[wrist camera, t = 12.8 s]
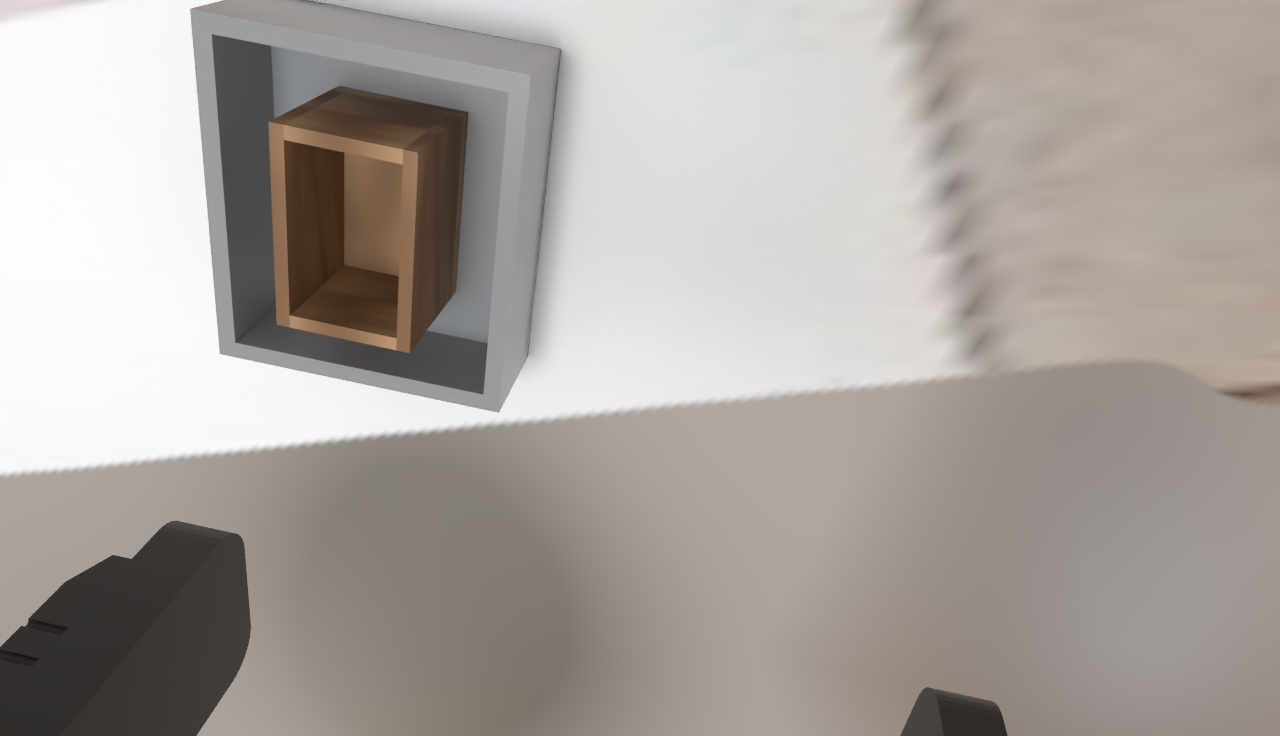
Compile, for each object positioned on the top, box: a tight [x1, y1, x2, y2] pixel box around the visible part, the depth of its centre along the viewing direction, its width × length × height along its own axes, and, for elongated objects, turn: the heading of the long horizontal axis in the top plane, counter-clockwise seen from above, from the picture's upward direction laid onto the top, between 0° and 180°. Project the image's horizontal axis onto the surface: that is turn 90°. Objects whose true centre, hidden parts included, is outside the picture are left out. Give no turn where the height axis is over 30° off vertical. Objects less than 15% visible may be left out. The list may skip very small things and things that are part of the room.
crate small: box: [268, 86, 469, 353], centre depth 40 cm, size 6×9×6 cm, turn 171°
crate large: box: [190, 0, 561, 412], centre depth 42 cm, size 14×16×6 cm
